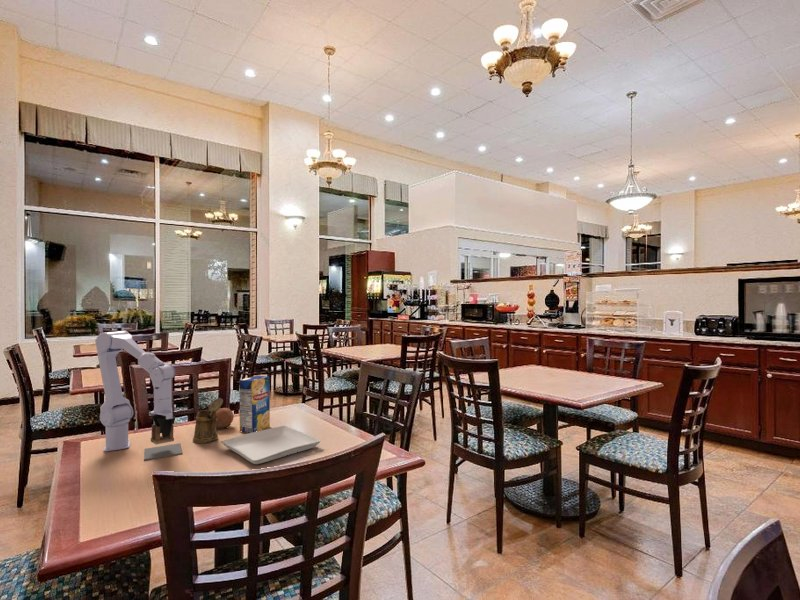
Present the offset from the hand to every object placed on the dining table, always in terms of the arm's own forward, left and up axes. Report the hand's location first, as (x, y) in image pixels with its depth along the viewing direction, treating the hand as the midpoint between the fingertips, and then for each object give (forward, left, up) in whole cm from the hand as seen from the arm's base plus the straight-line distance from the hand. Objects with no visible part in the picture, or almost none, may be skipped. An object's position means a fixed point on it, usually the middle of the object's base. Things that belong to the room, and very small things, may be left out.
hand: (163, 434), depth 158 cm
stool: (0, 0, -2) cm, 2 cm away
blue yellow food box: (-11, +35, -7) cm, 37 cm away
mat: (0, 0, -6) cm, 6 cm away
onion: (-20, +23, -7) cm, 31 cm away
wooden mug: (-5, +16, -7) cm, 18 cm away
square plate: (+17, +35, -7) cm, 39 cm away
